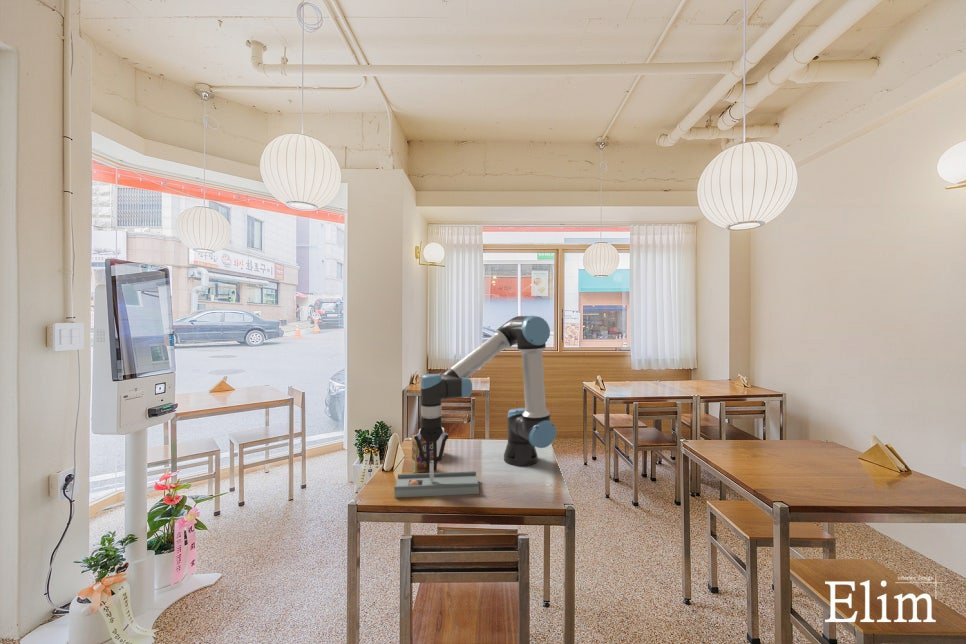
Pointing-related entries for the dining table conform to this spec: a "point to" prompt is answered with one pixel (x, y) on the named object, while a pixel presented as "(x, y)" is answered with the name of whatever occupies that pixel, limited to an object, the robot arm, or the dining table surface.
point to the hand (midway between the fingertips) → (431, 479)
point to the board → (437, 484)
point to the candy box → (416, 458)
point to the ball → (414, 482)
